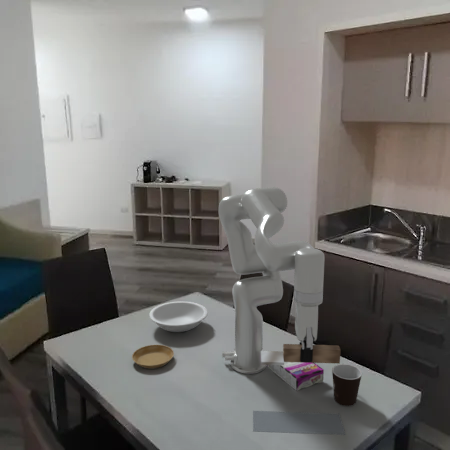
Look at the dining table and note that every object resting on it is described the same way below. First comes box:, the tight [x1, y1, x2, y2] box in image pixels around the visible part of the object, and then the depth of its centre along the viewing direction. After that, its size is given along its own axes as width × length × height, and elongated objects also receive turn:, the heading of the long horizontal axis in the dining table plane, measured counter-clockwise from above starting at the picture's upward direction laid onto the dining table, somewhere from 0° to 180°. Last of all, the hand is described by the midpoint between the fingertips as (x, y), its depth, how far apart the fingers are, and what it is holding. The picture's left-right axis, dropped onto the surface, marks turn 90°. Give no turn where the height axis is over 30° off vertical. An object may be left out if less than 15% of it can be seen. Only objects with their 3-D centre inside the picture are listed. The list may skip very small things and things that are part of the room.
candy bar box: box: [267, 362, 325, 391], centre depth 151 cm, size 11×5×16 cm
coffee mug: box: [331, 363, 363, 407], centre depth 138 cm, size 12×9×10 cm
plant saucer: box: [131, 344, 175, 370], centre depth 161 cm, size 15×15×3 cm
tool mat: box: [252, 410, 347, 436], centre depth 127 cm, size 25×9×1 cm, turn 87°
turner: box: [261, 343, 342, 366], centre depth 122 cm, size 21×6×4 cm, turn 87°
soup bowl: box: [148, 300, 209, 333], centre depth 186 cm, size 24×24×7 cm
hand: (305, 358), depth 122 cm, fingers closed on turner, 2 cm apart
